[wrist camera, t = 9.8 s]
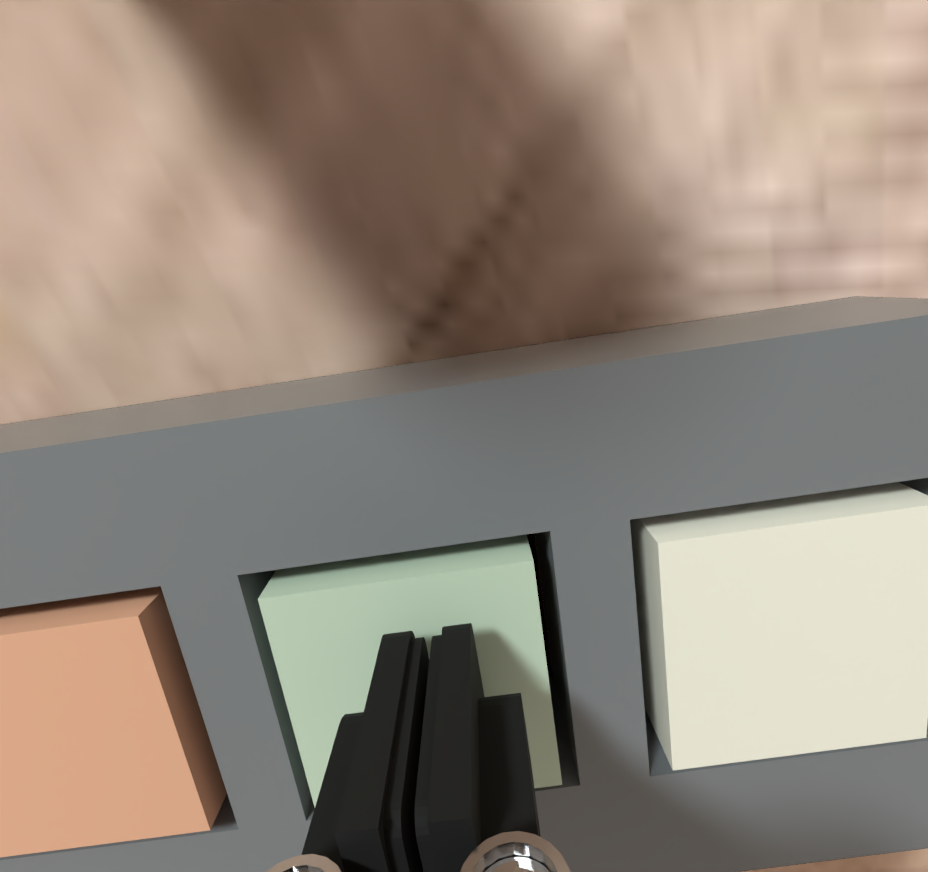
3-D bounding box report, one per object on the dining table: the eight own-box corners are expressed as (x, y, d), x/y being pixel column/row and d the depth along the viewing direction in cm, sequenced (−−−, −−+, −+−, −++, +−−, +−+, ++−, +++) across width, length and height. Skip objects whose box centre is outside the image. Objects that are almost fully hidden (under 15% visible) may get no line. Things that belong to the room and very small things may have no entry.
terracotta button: (222, 527, 15) (138, 616, 11) (270, 697, 16) (209, 830, 12) (25, 555, 15) (-128, 653, 11) (89, 721, 16) (-27, 861, 12)
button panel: (856, 296, 14) (1015, 302, 10) (843, 713, 17) (960, 843, 13) (-60, 433, 14) (-254, 490, 10) (92, 812, 17) (-12, 964, 13)
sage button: (512, 485, 14) (533, 560, 11) (536, 661, 16) (562, 784, 12) (310, 514, 15) (257, 599, 11) (350, 686, 16) (316, 816, 12)
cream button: (811, 442, 14) (944, 502, 10) (809, 624, 16) (926, 737, 12) (604, 473, 14) (657, 543, 10) (619, 650, 16) (672, 770, 12)
